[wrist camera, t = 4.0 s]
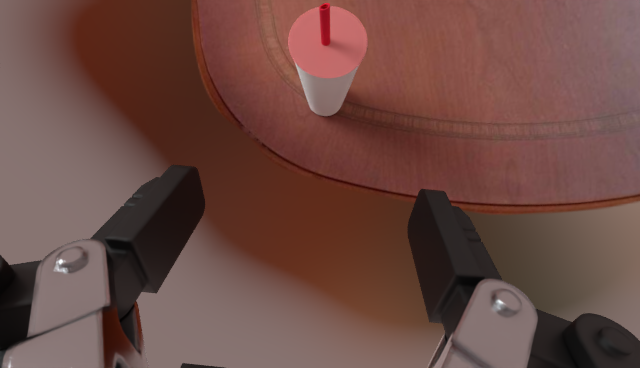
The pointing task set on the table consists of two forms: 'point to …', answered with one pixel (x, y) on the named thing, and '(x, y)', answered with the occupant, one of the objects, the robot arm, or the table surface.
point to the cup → (327, 55)
